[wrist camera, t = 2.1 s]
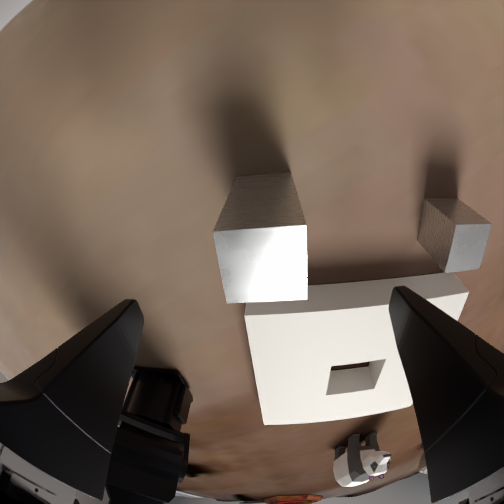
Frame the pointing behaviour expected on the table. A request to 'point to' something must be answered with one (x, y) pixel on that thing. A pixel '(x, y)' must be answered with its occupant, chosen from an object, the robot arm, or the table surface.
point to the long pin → (262, 240)
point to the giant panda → (360, 461)
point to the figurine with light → (294, 499)
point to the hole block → (337, 348)
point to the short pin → (453, 234)
